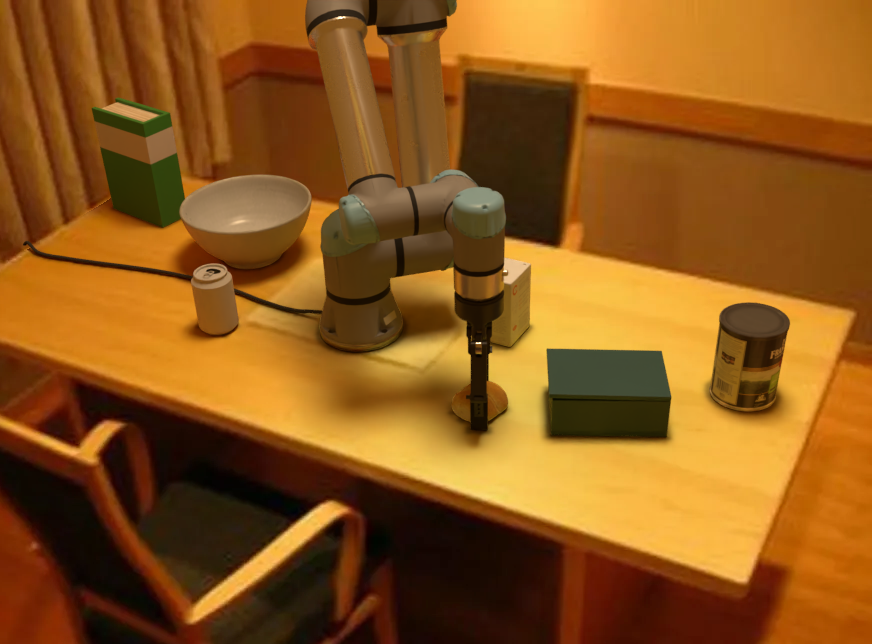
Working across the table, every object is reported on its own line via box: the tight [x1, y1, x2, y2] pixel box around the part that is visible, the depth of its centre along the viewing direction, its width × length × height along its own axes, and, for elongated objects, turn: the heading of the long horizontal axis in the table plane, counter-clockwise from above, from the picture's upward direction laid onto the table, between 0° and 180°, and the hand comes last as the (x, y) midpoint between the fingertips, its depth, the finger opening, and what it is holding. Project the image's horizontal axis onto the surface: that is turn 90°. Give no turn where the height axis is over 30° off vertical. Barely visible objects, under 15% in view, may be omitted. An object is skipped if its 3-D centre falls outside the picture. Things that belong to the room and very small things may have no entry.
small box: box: [490, 256, 532, 348], centre depth 190 cm, size 8×6×13 cm
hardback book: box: [91, 96, 186, 229], centre depth 238 cm, size 18×7×24 cm, turn 49°
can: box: [190, 262, 240, 336], centre depth 199 cm, size 8×8×12 cm
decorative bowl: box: [179, 174, 313, 270], centre depth 221 cm, size 27×27×12 cm
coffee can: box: [709, 302, 791, 412], centre depth 170 cm, size 10×10×14 cm
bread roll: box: [450, 380, 509, 423], centre depth 174 cm, size 8×9×4 cm
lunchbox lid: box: [546, 348, 672, 402], centre depth 168 cm, size 18×13×1 cm
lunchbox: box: [547, 387, 672, 438], centre depth 170 cm, size 18×13×7 cm
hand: (479, 407), depth 175 cm, fingers open, 10 cm apart
